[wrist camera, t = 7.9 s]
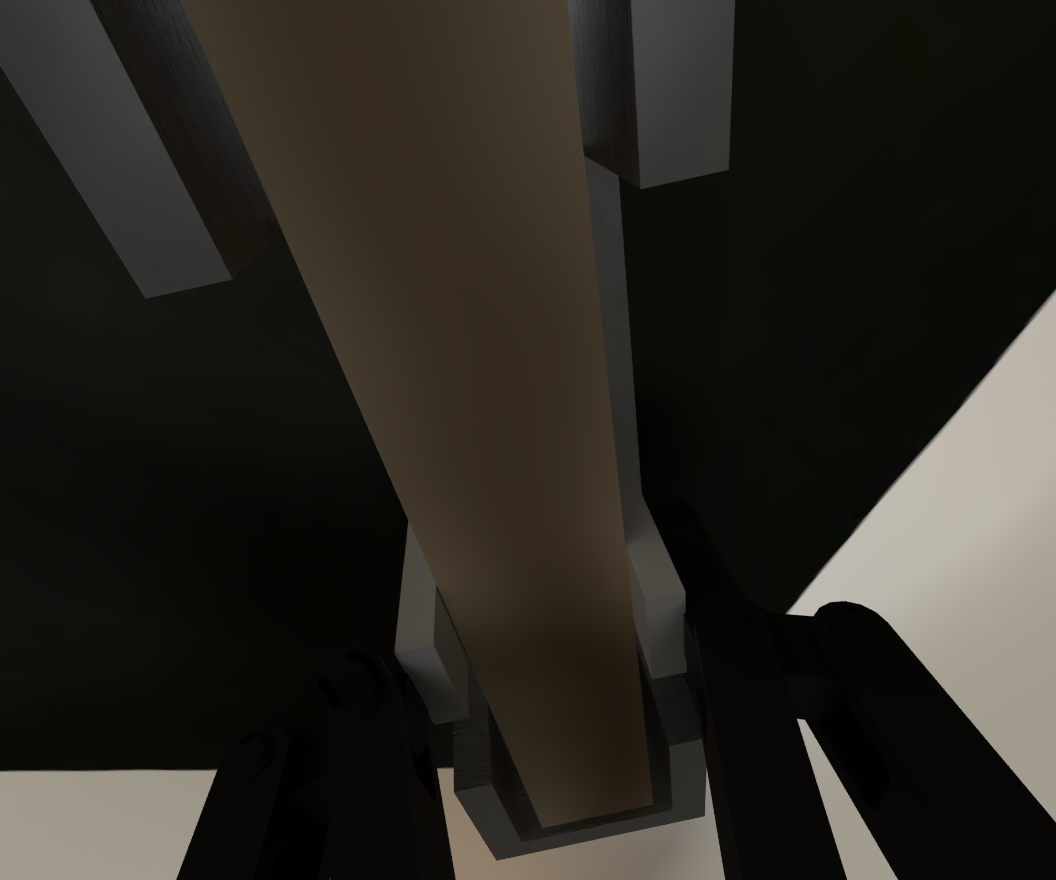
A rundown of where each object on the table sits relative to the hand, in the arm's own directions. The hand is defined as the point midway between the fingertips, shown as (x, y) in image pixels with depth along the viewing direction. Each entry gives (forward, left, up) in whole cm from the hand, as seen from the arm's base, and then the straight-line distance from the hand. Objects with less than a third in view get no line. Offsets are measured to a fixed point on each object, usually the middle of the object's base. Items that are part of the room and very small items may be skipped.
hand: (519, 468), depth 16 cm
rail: (0, 0, 0) cm, 0 cm away
